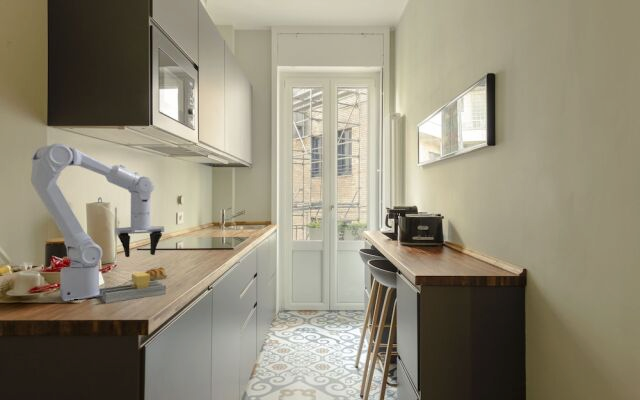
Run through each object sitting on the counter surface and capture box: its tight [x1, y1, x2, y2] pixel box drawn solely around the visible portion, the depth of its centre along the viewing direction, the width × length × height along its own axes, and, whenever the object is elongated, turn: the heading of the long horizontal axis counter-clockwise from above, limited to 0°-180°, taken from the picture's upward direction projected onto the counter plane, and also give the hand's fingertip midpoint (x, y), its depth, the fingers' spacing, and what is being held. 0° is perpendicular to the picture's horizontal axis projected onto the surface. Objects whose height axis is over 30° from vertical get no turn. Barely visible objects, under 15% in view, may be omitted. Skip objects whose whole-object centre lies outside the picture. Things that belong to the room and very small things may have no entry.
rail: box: [99, 280, 167, 304], centre depth 111 cm, size 16×8×2 cm, turn 131°
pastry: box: [144, 267, 168, 282], centre depth 133 cm, size 9×7×4 cm
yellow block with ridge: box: [131, 271, 151, 289], centre depth 112 cm, size 4×5×5 cm
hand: (140, 255), depth 123 cm, fingers open, 7 cm apart
